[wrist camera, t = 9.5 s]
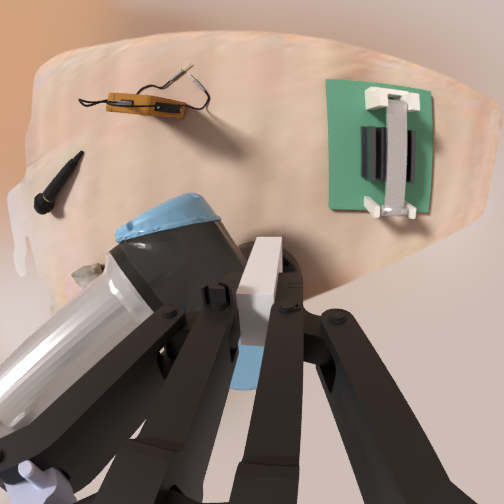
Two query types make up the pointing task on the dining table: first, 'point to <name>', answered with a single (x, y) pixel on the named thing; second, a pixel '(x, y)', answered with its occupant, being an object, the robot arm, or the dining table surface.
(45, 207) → the microphone
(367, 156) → the heat sink
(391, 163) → the clamp bar
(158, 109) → the multimeter
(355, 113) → the circuit board
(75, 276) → the ceramic sculpture
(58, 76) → the dining table surface
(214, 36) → the dining table surface
